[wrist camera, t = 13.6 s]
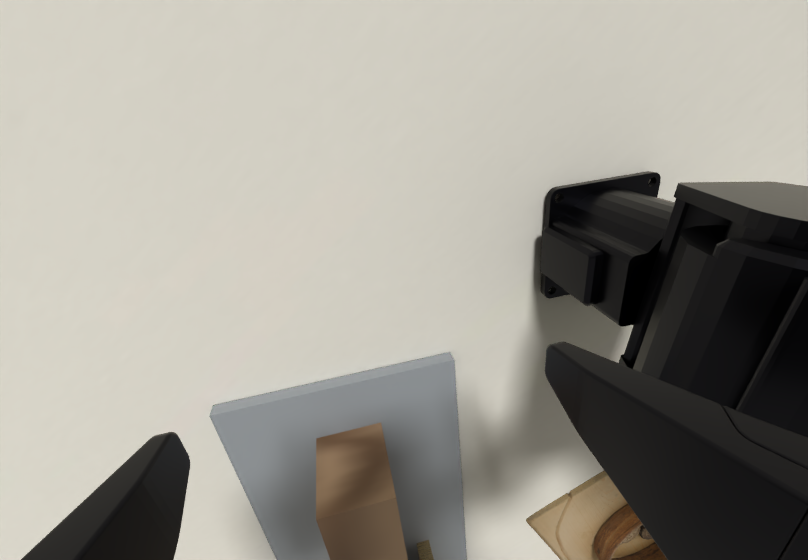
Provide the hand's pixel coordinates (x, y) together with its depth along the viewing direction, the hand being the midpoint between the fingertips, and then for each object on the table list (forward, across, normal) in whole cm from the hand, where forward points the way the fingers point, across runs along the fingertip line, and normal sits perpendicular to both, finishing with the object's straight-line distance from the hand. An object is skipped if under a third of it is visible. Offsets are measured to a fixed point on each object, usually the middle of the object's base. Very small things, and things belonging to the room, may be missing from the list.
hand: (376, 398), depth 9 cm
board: (+12, -23, +35) cm, 43 cm away
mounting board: (+11, +2, +20) cm, 23 cm away
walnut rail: (+10, +2, +20) cm, 23 cm away
